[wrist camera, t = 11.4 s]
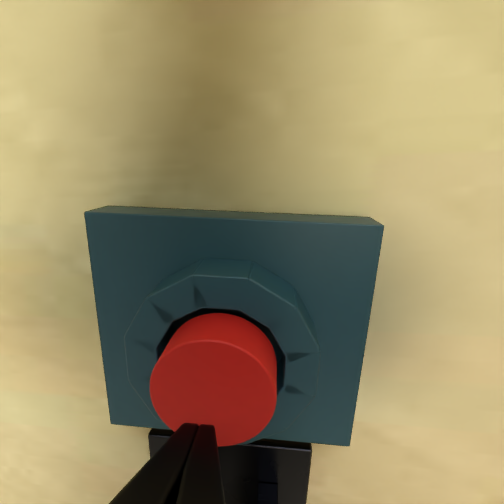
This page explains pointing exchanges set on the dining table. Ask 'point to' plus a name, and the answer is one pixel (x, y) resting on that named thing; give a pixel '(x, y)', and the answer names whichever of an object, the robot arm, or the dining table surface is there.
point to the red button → (217, 377)
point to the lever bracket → (258, 469)
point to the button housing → (238, 303)
